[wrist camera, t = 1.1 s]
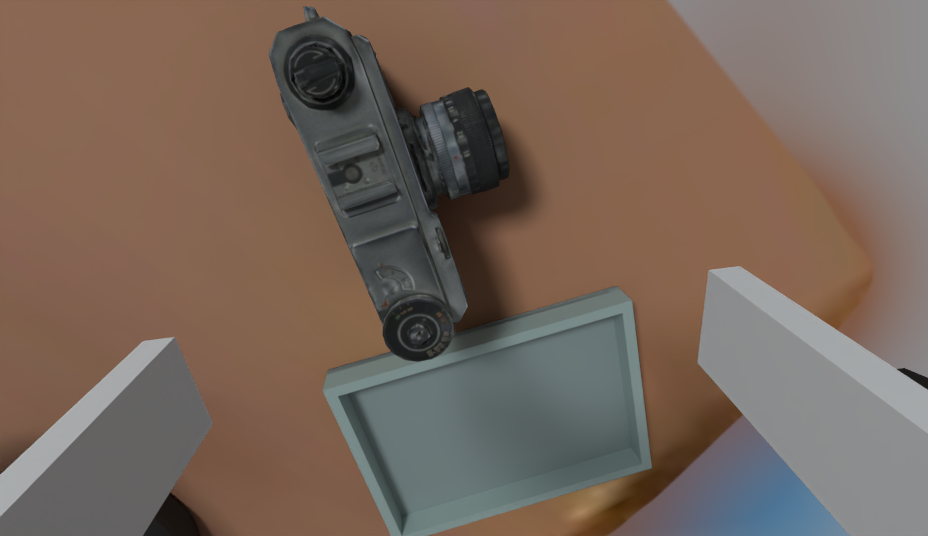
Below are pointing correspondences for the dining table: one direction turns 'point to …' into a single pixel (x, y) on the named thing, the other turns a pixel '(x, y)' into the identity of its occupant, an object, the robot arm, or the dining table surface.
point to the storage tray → (498, 415)
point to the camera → (389, 174)
